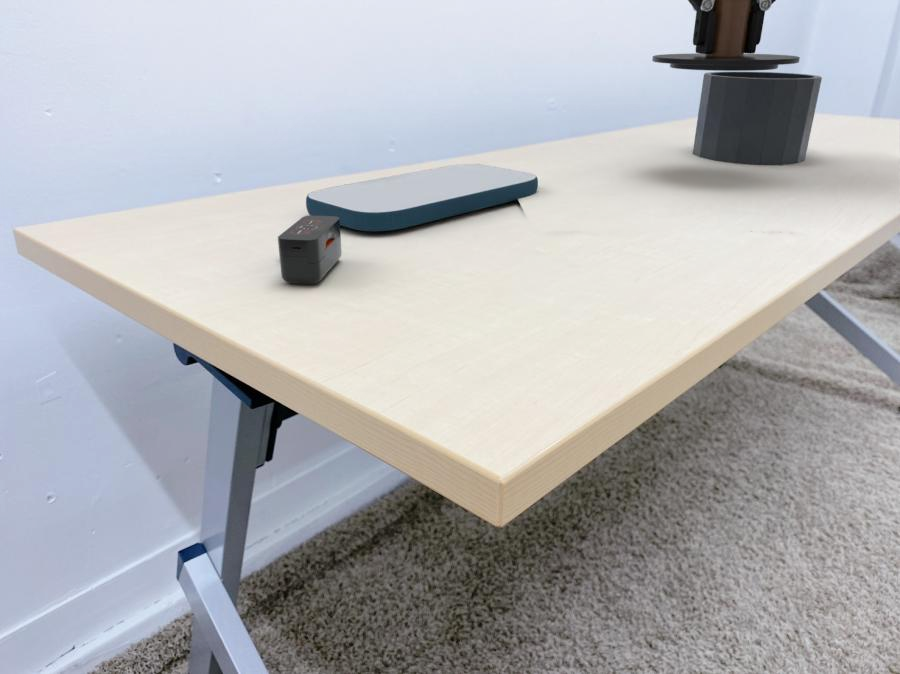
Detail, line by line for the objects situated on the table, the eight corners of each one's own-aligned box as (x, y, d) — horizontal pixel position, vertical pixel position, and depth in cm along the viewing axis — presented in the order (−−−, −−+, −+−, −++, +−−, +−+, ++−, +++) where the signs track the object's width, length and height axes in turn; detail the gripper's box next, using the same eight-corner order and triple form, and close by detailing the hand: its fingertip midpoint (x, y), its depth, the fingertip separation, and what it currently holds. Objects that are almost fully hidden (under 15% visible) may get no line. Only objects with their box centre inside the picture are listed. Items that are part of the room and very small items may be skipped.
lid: (760, 62, 82) (770, -1, 79) (825, 71, 69) (840, -5, 66) (635, 64, 82) (641, 1, 79) (676, 72, 68) (685, -3, 66)
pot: (773, 151, 100) (788, 71, 95) (823, 169, 87) (843, 79, 83) (678, 151, 99) (689, 71, 95) (714, 169, 87) (729, 78, 82)
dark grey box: (346, 255, 54) (344, 213, 53) (319, 287, 48) (315, 240, 46) (287, 253, 55) (284, 211, 53) (252, 284, 48) (247, 237, 47)
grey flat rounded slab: (373, 241, 58) (372, 217, 57) (293, 215, 65) (291, 194, 64) (550, 196, 73) (551, 176, 72) (468, 179, 80) (468, 161, 80)
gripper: (679, -165, 63) (656, 55, 71) (862, -165, 64) (820, 53, 71) (654, -147, 70) (636, 52, 78) (820, -147, 71) (786, 51, 78)
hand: (724, 51), depth 74 cm, fingers closed on lid, 3 cm apart
